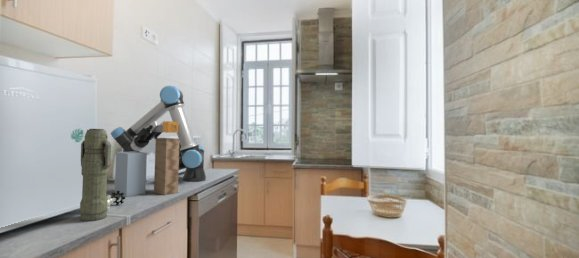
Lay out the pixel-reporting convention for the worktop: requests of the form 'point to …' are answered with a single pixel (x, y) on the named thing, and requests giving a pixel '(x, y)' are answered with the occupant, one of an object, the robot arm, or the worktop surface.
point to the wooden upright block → (166, 166)
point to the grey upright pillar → (130, 173)
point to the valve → (114, 199)
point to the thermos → (94, 174)
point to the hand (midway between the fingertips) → (160, 123)
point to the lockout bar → (167, 127)
